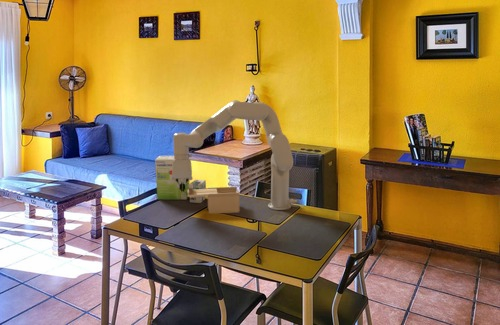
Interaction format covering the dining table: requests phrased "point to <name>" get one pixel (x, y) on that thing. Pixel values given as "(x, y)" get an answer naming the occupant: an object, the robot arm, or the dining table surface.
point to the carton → (223, 200)
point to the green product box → (168, 180)
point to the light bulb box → (198, 185)
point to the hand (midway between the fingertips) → (182, 190)
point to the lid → (199, 191)
